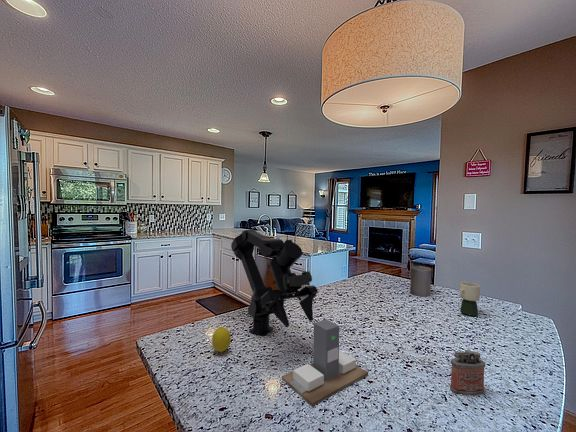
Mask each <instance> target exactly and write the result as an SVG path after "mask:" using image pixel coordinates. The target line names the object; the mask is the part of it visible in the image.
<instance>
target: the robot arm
mask: <svg viewBox="0 0 576 432" xmlns="http://www.w3.org/2000/svg"><path fill="white" fill-rule="evenodd" d="M230 247H231V248H230V249H231V251H232V252H233V255H234V257H236V258H237V259H238V260H240V261H241V263H242V266H243V269H244V272H245V274H246V275H245V276H246V277H247V279H248V283H249V285H250V288H251V291H252V295H251V299H250V304H249V305H248V307H247V313H248V315H249V317H252V318H253V320H252V328H251V329H250V330H249V333H251V334H255V335H260V336H263V337H264V336H267V335H268V334H269V333H271V331H273V329H274V326H270V315H272V314H273V315H274V316H275V317H276V318H277V319H278V320H279V321H280V322H281V323H282V324H283V325H284V326H285V327H286V328H288V327H290V322H289V319H288V315H287V312H286V309H285V301H286V300H291V299H296V298H297V299H298V300H299V302H298V303H299V305H300V307H301V309H302V310H303V312H304V315H305V316H306V317H307V319H308V320H309V322H310V323H311V322H312V321H314V313H313V312H314V311H313V301H314V298H316V296H317V294H318V293H319V290H318V289H317V286H315V285H310V283H311V282H312V281H313V277H312V274H311V272H310V271H309V270H308V271H302V272H301V274H296V273H295V272H292V271H291V267H293V266H294V264H296V263H297V262H298V260H299V259H300V258H301V257H302V255H303V250H302V247H300V245H298V244H297V243H295V242H293V240H292V239H286V240H285V241H284V240H282V239H281V238H271V237H267V236H265V235H263V234H262V233H260V232H258V231H257V230H255V229H244V230H243V231H242V232H241V233H240V234H238V235H237V236H235V237H234V238H233V241H232V242H231V244H230ZM255 247H256V248H258V249H259V253H260V254H261V255H262V257H264V258H265V259H268V258H271V259H270V260H268V261H269V262H268V264H267V269H270V270H271V273H272V275H273V279H274V280H273V281H272V284H273V285H274V286H276V288H277V289H273V288H272V287H271V286H266V285H265V283H264V280H263V279H262V278H263V277H262V275H261V272H260V271H259V268H258V265H257V263H256V260H255V257H254V255H253V254H254V251H255ZM303 286H304V287H303Z"/></svg>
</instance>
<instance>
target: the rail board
mask: <svg viewBox="0 0 576 432" xmlns="http://www.w3.org/2000/svg"><path fill="white" fill-rule="evenodd" d="M308 364H309V365H311V366H312V367H313V362H312V363H308ZM367 376H369V372H368V371H367V370H365V369H363V368H362V367H360V366H359V365H358V366H357V367H356V368H354V369H352V370H350V371H348V372H346V373H344V374H342V375H340V376H338V377H336V378H334V379H332V380H330V381H328V382H326V383H324V384H322V385H320V386H318V387H316V388H314V389H312V390H311V391H309V392H306V393H304V394H301V393H300V392H299V391H298V390H297V389H295V388H294V387H293V386H292V385H291V384H290V381H293V380H294V379H293V371H291V372H288V373H286V374H283V375H281V380H282V381H283V382H284V381H285V382H286V383H287V384H288V385H289V387H290V388H291V389H292V390H293V391H294V393H296V392H297V393H298V394H299V396H300V398H301V399H303V400H304V401H305V402H306V401H307V402H308V403H307V402H306V403H307V404H308V405H310V406H311V407H314V406H316V405H318V404H320V403H321V402H323V401H325V400H326V399H328V398H329V397H333V395H336V394H337V393H339V392H341V391H342V390H344V389H346V388H348V387H350V386H352V385H354V384H355V383H357V382H359V381H360V380H362V379H364V378H366V377H367ZM285 382H284V383H285ZM286 383H285V384H286ZM288 385H287V386H288ZM297 393H296V394H297ZM298 394H297V395H298Z"/></svg>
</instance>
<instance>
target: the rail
mask: <svg viewBox="0 0 576 432" xmlns="http://www.w3.org/2000/svg"><path fill="white" fill-rule="evenodd" d="M357 366H358V367H359V364H357V363H356V367H357ZM342 374H343V373H341V372H340V371H339V375H337V376H335V377H333V378H331V379H328V380H326V381H325V380H324V383H326V382H328V381H330V380H332V379H334V378H336V377H338V376H340V375H342ZM290 384H291V385H292V386H293V387H294V388H295V389H297V390H298V391H299V392H300V393H301V394H304V393H306V392H308V391H307V390H306V389H305V388H304V387H302V386H301V385H300V384H299V383H298V382H297V381H295V380H293V381H290Z"/></svg>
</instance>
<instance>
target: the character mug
mask: <svg viewBox="0 0 576 432" xmlns="http://www.w3.org/2000/svg"><path fill="white" fill-rule="evenodd" d="M459 283H460V284H459V289H458V290H459V292H458V293H459V295H458V296H459V297H460V298H461V299H462V301H461V304H460V310H459V311H460V313H462V314H465V315H469V316H472V317H473V316H475V317H476V316H478V315H479V312H478V311H479V310H478V308H479V307H478V301H480V298H481V297H480V296H481V285H480V284H478V283H476V282H472V281H471V282H470V281H461V282H459Z"/></svg>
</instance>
